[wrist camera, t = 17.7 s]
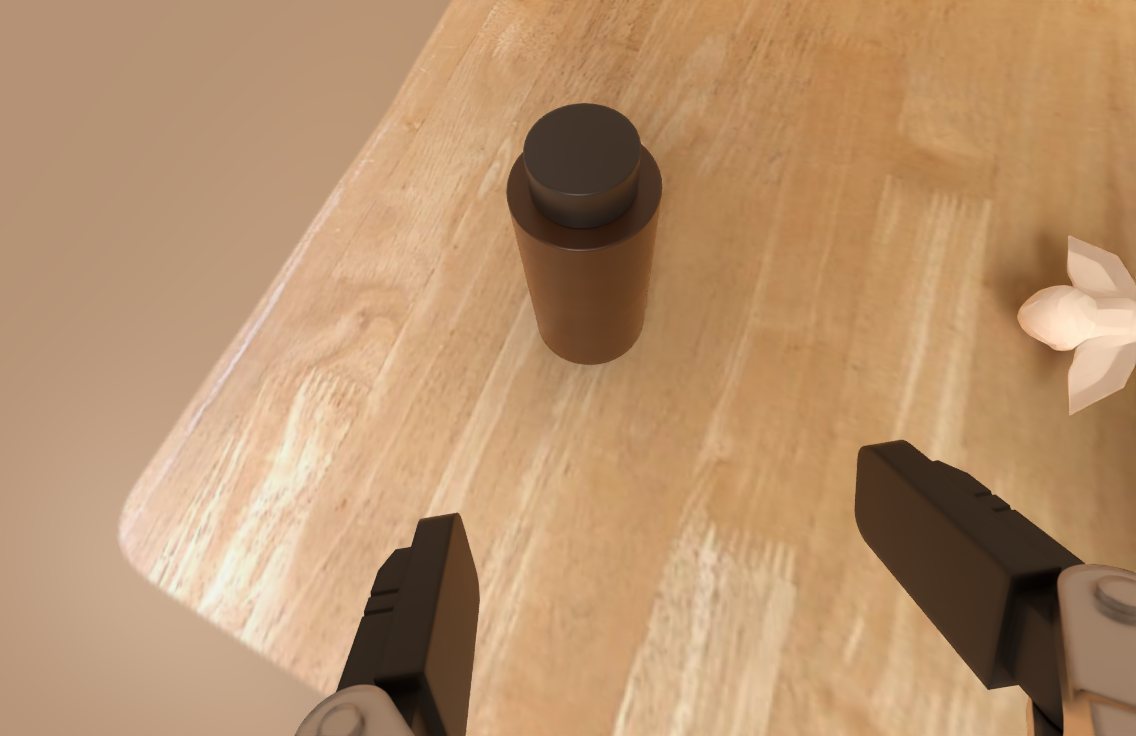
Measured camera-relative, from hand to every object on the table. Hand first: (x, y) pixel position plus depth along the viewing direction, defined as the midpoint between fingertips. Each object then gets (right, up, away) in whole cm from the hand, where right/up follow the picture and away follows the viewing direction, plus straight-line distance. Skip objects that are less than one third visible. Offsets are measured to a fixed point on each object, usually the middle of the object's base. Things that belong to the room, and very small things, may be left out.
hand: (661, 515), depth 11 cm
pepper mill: (-1, +5, +13) cm, 14 cm away
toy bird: (+18, +4, +12) cm, 22 cm away
